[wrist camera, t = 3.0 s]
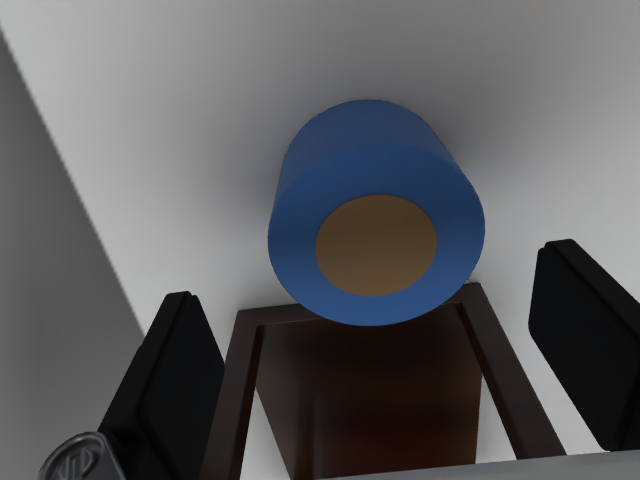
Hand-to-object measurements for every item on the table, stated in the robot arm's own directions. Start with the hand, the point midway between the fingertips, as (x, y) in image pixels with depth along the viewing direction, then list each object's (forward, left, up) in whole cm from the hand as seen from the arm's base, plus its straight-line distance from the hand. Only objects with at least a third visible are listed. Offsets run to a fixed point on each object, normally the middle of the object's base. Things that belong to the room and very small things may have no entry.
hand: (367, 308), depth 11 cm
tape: (-1, +1, -7) cm, 7 cm away
